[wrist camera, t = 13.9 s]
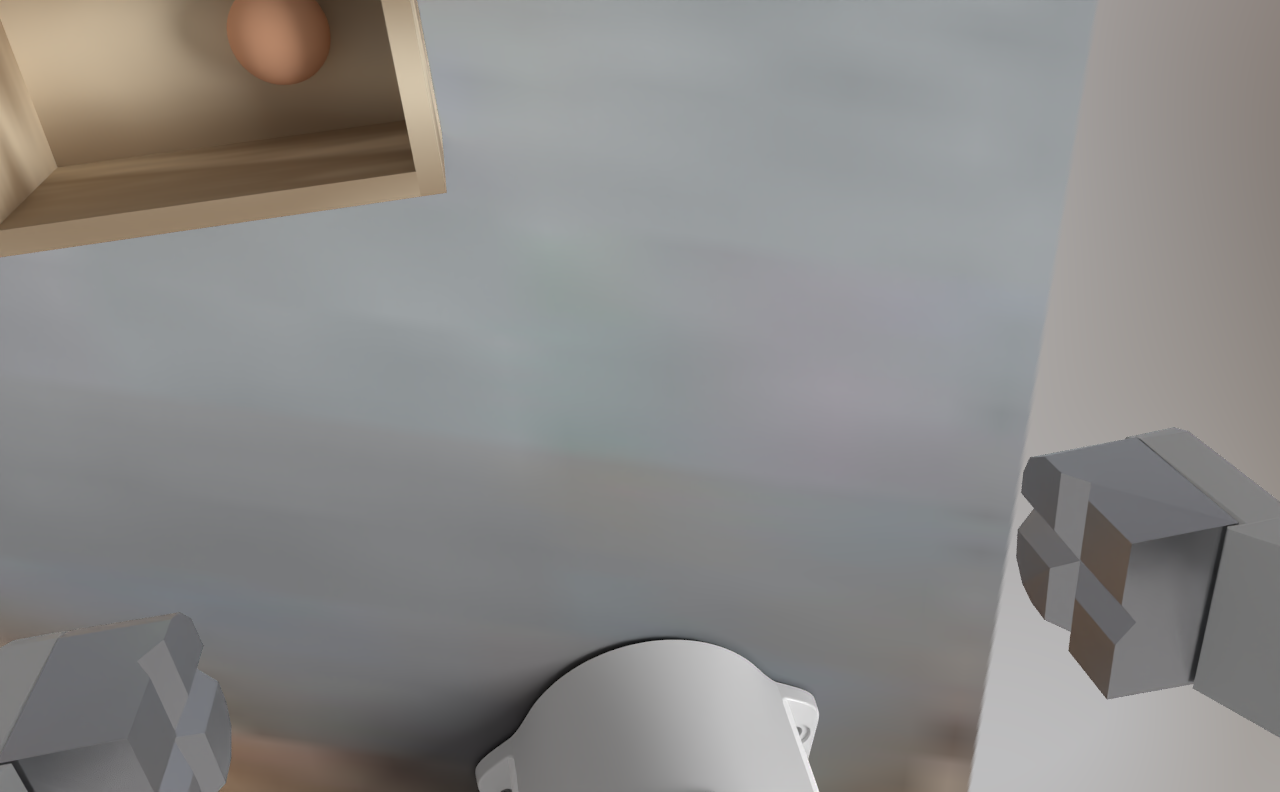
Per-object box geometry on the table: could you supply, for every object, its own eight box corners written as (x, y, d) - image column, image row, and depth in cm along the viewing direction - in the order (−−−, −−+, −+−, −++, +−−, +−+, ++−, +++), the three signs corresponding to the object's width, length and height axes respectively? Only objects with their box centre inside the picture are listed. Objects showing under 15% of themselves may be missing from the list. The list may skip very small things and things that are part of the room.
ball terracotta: (343, 66, 36) (337, 87, 33) (249, 79, 35) (235, 101, 33) (321, -31, 34) (312, -18, 31) (222, -20, 34) (205, -5, 31)
